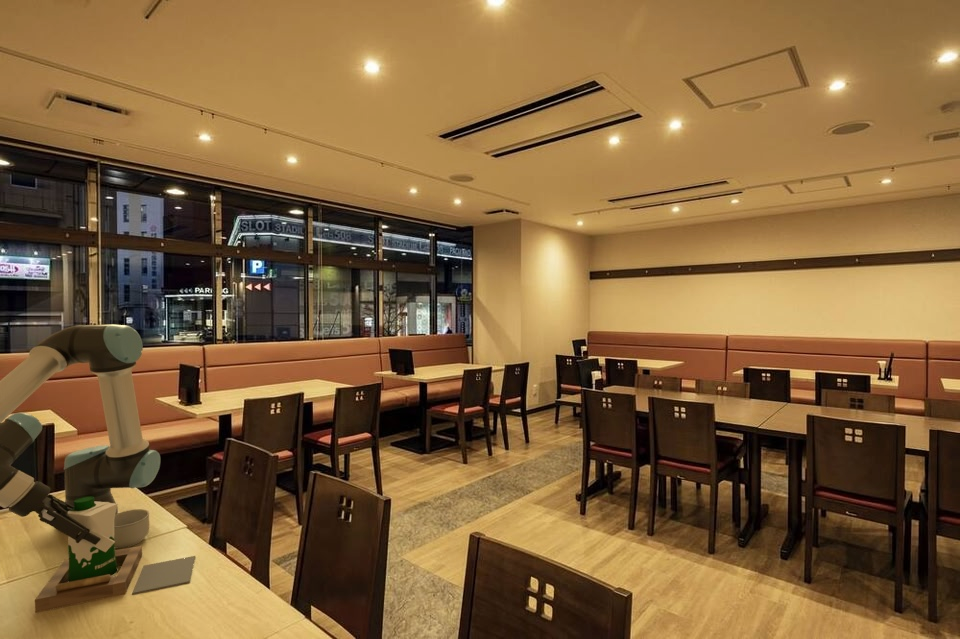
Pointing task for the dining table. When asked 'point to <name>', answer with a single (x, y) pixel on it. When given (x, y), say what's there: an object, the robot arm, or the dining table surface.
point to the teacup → (130, 527)
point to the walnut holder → (88, 583)
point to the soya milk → (83, 555)
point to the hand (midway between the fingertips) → (108, 539)
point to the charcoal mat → (164, 574)
